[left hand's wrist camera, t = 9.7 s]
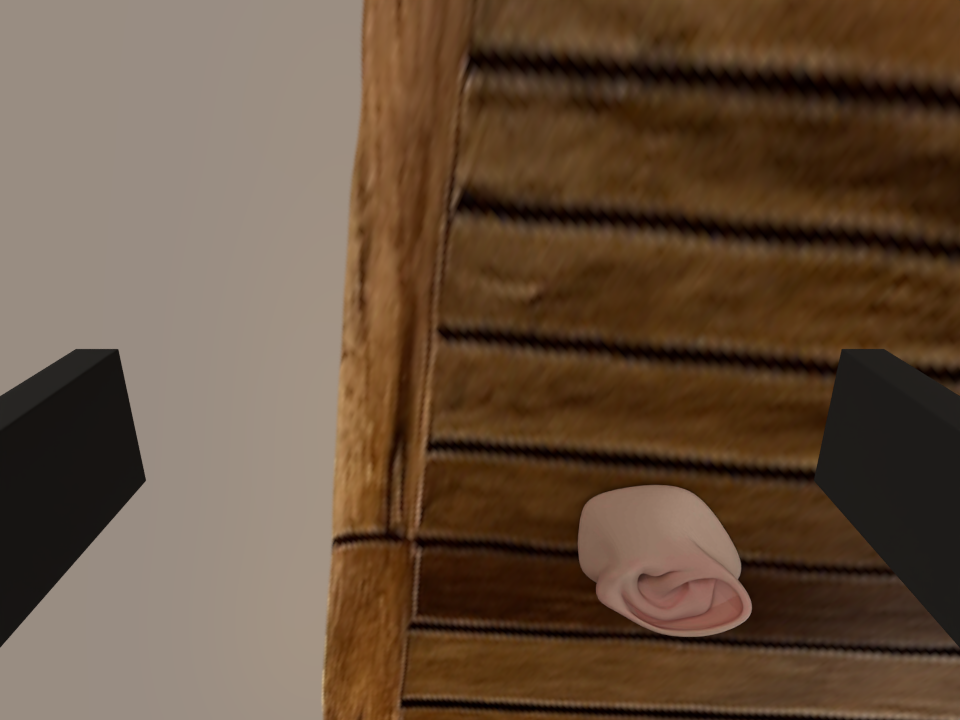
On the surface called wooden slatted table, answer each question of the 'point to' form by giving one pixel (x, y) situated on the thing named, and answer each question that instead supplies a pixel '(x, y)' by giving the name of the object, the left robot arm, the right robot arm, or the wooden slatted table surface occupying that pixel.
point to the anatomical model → (662, 561)
